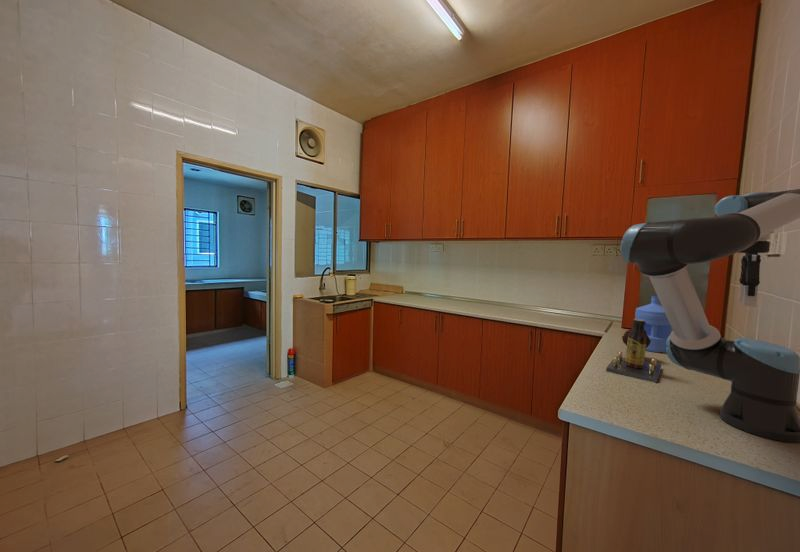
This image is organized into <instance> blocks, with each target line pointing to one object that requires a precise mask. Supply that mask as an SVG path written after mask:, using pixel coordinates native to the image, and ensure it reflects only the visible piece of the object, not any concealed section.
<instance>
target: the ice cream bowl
mask: <svg viewBox="0 0 800 552" xmlns="http://www.w3.org/2000/svg"><path fill="white" fill-rule="evenodd" d="M631 331H632V328H631V329H627V330H626V331H625V332H624V333H623V335H622V337H621V339H622V342H623V344H624V345H625V346H626V347H627V341H628V336H629V334H630V333H631ZM644 333H645V335H646V337H647V340H646V348H647V347H648V346H649V344H650V342H651V340H649V337H648V336H647V332H646V331H645V330H644Z"/></svg>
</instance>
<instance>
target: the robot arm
mask: <svg viewBox="0 0 800 552" xmlns="http://www.w3.org/2000/svg"><path fill="white" fill-rule="evenodd" d="M714 214H715V215H716V216H710V217H698V218H697V217H695V218H686V219H675V220H664V221H654V222H651V221H648V222H644V223H638V224H634V225H632V226H630V227H629V228H627V230H626V231H625V232H624V235H623V236H622V239H621V242H620V254H621V255H620V256H621V257H622V259H623V260H624V261H625V262H626V263H629V264H632V265H633V264H635V265H636V267H637V269H638V271H639V272H640V274H642V275H643V276H645V277H648V278H649V279H650V282H651V285H652V286H653V289H654V291H655V294H656V296H658V298H659V304H660V305H661V306H662V307H663V309H664V312H665V314H666V316H667V318H668V321H669V323H670V325H671V327H672V332H671V334H670V335H669V337H668V338H667V341H666V345H667V348H666V352H667V353H666V355H667V358H668V359H669V360H670V362H672V363H673V364H674V365H676V366H678V367H681V368H684V369H686V370H688V371H689V370H690V371H694V372H696V373H697V372H698V373H701V374H706V375H708V376H711V377H716V378H718V379H722V380H725V381H728V382H731V384H730V392H729V394H728V396H727V397H726V399H725V401H723V404H722V405H721V407H720V410H719V418H720V419H721V420H722V421H724V422H725V423H726V424H728V425H730V426H732V427H734V428H737V429H738V430H741V431H743V432H746V433H750V434H752V435H755V436H759V437H762V438H764V439H765V438H766V439H771V440H772V441H773V440H774V441H779V442H785V443H800V416H799V413H798V412H799V411H798V410H797V400H798V392H799V383H800V382H799V381H800V356H799V354H798V353H797V352H796V351H794V350H793V349H791V348H788V347H785V346H783V345H779V344H776V343H772V342H769V341H765V340H760V339H754V338H747V337H746V338H745V337H737V338H736V339H735V340H734V341H733V340H731V339H730V340H729V339H725V338H723V337H722V334H721V333H720V330H719V329H718V328H717V327H715V326H713V325H710V324H709V321H708V318H707V316H706V314H705V311H704V309H703V306H702V304H701V303H702V302H701V300H700V299H699V296H698V294H697V291H696V288H695V286H694V284H693V281H692V279H691V276H690V274H689V272H688V269H687V267H688V266H689V265H694V264H703V263H708V262H712V261H716V260H719V259H723V258H726V257H729V256H732V255H735V254H737V253H738V254H745V255H743V256H742V258H741V261H740V263H741V267H740V269H741V270H740V276H739V280H738V281H739V291H738V301H737V302H738V303H739V304H740V303H741V304H742V306H743V307H750V308H751V307H752V308H756V307H757V302H758V301H757V300H758V291H759V285H760V283H761V282H760V273H761V271H760V268H761V261H762V260H761V254H766V253H769V252H770V248H771V242H770V241H769V240H771V237H772V236H771V234H774V232H775V231H776V230H777V229H779V228H781V227H784V226H785V225H788V224H790V223H793V222H794V221H797V220H798V219H800V188H796V189H789V190H787V189H786V190H780V191H772V192H771V191H764V192H763V191H761V192H760V191H758V192H751V193H745V194H742V195H728V196H725V197H723V198H721V199H720V200H718V202H716V204H715V206H714Z"/></svg>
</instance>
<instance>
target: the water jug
mask: <svg viewBox="0 0 800 552" xmlns="http://www.w3.org/2000/svg"><path fill="white" fill-rule="evenodd" d="M650 297H651V299H650V303H649V304H646V305H642V306H639V307H636V308H635V313H634V314H635V315H634V316H635V317H634V319H641V320H645V325H644V330H645V331H646V332H647V336H648V337H649V340H651V342H650V344H649V346H648V347H647V348H646V350H647V351H646V350H645V351H646V352H651V351H652V353H658V352H663V353H662V354H667V352H666V348H667V345H666V341H667V338H668V337H669V335H670V334H671V332H672V331H673V330H672V327H671V325H670V323H669V321H668V318H667V316H666V314H665V312H664V309H663V307H662V305H661V304H660V300H659V298H658V296H657V295H656V296H655V295H654V296H653V295H651V296H650Z"/></svg>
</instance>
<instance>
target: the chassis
mask: <svg viewBox="0 0 800 552" xmlns="http://www.w3.org/2000/svg"><path fill="white" fill-rule="evenodd" d="M625 359H626V357H623V352H622V351H618V352H617V356H616V355H615V356H613V359H612V360H611V362H609V364H608V365H607V366H606V369H605V370H606V372H609V373H613V374H617V375H622V376H626V377H631V378H636V379H640V380H643V381H648V382H653V383H656V384H657V383H658V380H659V377H660V373H661V370H662V365H660V364H657V359H656V358H651V360H650V362H647V361H644V365H643V368H633V367H630V366H628V365H626V360H625Z"/></svg>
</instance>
